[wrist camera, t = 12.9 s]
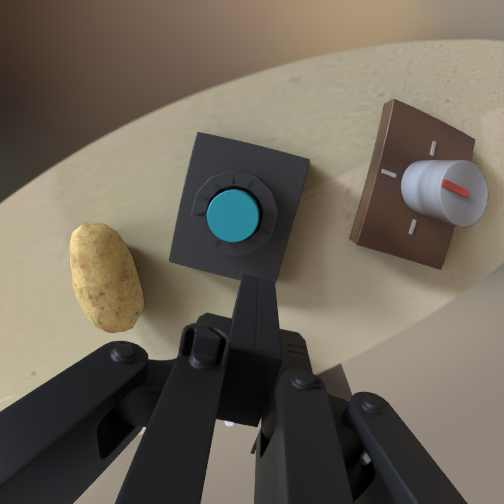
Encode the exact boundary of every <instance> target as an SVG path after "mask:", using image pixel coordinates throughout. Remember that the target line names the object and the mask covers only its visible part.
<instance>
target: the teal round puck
mask: <svg viewBox="0 0 504 504" xmlns="http://www.w3.org/2000/svg"><path fill="white" fill-rule="evenodd" d="M207 221H208V225H209V227H210V229H211V231H212V232H213V233H214V234H215V235H216V236H217V237H218V238H220V239H222V240H224V241H228V242H239V241H242V240H244V239H246V238H248V237H249V236H250V235H252V233H253V232H254V231H255V229H256V227H257V225H258V221H259V209H258V205H257V203H256V201H255V200H254V198H253V197H252V196H251V195H249V194H248V193H246V192H244V191H241V190H235V189H234V190H228V191H225V192H223V193H221V194H219V195H218V196H216V197H215V198H214V199H213V200H212V202H211V203H210V205H209V207H208V211H207Z"/></svg>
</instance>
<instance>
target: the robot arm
mask: <svg viewBox="0 0 504 504" xmlns="http://www.w3.org/2000/svg"><path fill="white" fill-rule="evenodd" d="M216 419H219V420H224V421H228V422H233V423H238V424H243V425H248V426H254V427H258V424H259V421H260V419H261V429H260V431H259V434H258V436H257V438H256V441H255V443H254V445H253V448H252V451H251V453H252V454H254V453H255V450H256V469H255V493H254V504H467V502H466V501H465V500H464V498H463V497H462V496H461V494H460V493H459V492H458V491H457V490H456V488H455V487H454V485H453V484H452V483H451V482H450V480H449V479H448V478H447V477H446V475H445V474H444V473H443V472H442V470H441V469H440V468H439V466H438V465H437V464H436V462H435V461H434V460H433V459H432V457H431V456H430V455H429V454H428V452H427V451H426V450H425V448H424V447H423V446H422V445H421V443H420V442H419V441H418V440H417V438H416V437H415V436H414V435H413V433H412V432H411V431H410V429H409V428H408V427H407V426H406V425H405V423H404V422H403V421H402V420H401V418H400V417H399V416H398V414H397V413H396V412H395V411H394V409H393V408H392V407H391V406H390V404H389V403H388V402H387V401H386V400H384V399H383V398H382V397H380V396H378V395H376V394H373V393H370V392H358V393H355V394H354V395H353V396H352V397H351V399H350V401H346V400H343V399H340V398H337V397H334V396H332V395H330V394H328V393H327V391H326V387H325V385H324V383H323V381H322V380H321V379H320V378H319V377H318V376H316V375H314V374H313V372H312V368H311V363H310V359H309V356H308V350H307V346H306V342H305V340H304V339H303V337H302V336H301V335H300V334H299V333H297V332H292V331H288V330H283V329H280V328H279V318H278V308H277V298H276V289H275V281H271V280H267V279H263V278H259V277H255V276H251V275H247V274H243V275H242V279H241V283H240V287H239V291H238V295H237V299H236V303H235V307H234V311H233V315H232V319H231V318H227V317H223V316H219V315H215V314H211V313H205V314H203V315H202V316H200V317H199V318H198V320H197V323H196V324H190V325H187V326H186V327H185V328H184V329H183V330H182V335H181V341H180V347H179V353H178V356H177V358H175V359H172V360H150V359H148V354H147V352H146V351H145V350H144V349H143V348H142V347H140V346H139V345H137V344H134V343H131V342H127V341H113V342H110V343H107V344H105V345H103V346H102V347H100V348H99V349H97V350H95V351H94V352H92V353H91V354H89V355H88V356H86V357H85V358H83V359H81V360H80V361H78V362H77V363H75V364H74V365H72V366H71V367H69V368H67V369H66V370H64V371H63V372H61V373H60V374H58V375H57V376H55V377H53V378H52V379H50V380H49V381H47V382H46V383H44V384H43V385H41V386H39V387H38V388H36V389H35V390H33V391H32V392H30V393H29V394H27V395H25V396H24V397H22V398H21V399H19V400H18V401H16V402H15V403H13V404H11V405H10V406H8V407H7V408H5V409H4V410H2V411H1V412H0V504H73V503H74V502H75V501H76V500H77V499H78V498H79V497H80V496H81V495H82V494H83V493H84V491H86V489H87V488H88V487H89V486H90V485H91V484H92V483H93V482H94V481H95V480H96V479H97V478H98V477H99V476H100V475H101V474H102V473H103V471H105V469H106V468H107V467H108V466H109V465H110V464H111V463H112V462H113V461H114V460H115V459H116V458H117V456H118V455H119V454H120V453H121V452H122V451H123V450H124V449H125V448H126V447H127V446H128V445H129V443H130V442H131V441H132V440H133V439H134V438H135V437H136V436H137V435H138V434H139V432H140V431H141V430H142V428H143V427H146V430H145V432H144V434H143V437H142V439H141V441H140V444H139V446H138V449H137V451H136V453H135V456H134V458H133V460H132V463H131V465H130V468H129V470H128V473H127V475H126V477H125V480H124V482H123V485H122V487H121V490H120V492H119V494H118V497H117V500H116V502H115V504H200V503H201V497H202V492H203V486H204V480H205V475H206V470H207V464H208V459H209V453H210V448H211V442H212V437H213V432H214V426H215V421H216ZM366 453H367V455H368V457H369V458H370V460H371V461H370V462H369V463H366V462H365V460H364V459H363V457H364V455H365V454H366Z"/></svg>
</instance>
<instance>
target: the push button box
mask: <svg viewBox="0 0 504 504" xmlns="http://www.w3.org/2000/svg"><path fill="white" fill-rule="evenodd" d="M309 162H310V160H309V159H306V158H303V157H299V156H296V155H292V154H289V153H285V152H281V151H277V150H274V149H270V148H266V147H262V146H258V145H254V144H250V143H246V142H241V141H237V140H233V139H228V138H224V137H219V136H215V135H210V134H205V133H200V132H197V134H196V138H195V142H194V146H193V150H192V154H191V158H190V162H189V166H188V171H187V175H186V179H185V184H184V188H183V192H182V197H181V202H180V206H179V211H178V216H177V221H176V226H175V231H174V236H173V241H172V246H171V251H170V257H169V262H172V263H175V264H179V265H183V266H187V267H190V268H194V269H198V270H202V271H205V272H209V273H213V274H217V275H221V276H225V277H229V278H232V279H236V280H240V281H241V279H242V275H243V274H247V275H251V276H255V277H259V278H263V279H267V280H271V281H275V283H276V280H277V276H278V273H279V270H280V266H281V263H282V259H283V256H284V252H285V249H286V245H287V242H288V239H289V235H290V231H291V228H292V224H293V221H294V217H295V214H296V210H297V207H298V203H299V199H300V196H301V192H302V188H303V185H304V181H305V177H306V174H307V170H308V166H309ZM234 189H235V190H241V191H244V192H246V193H248V194H249V195H251V196H252V197H253V198H254V200H255V201H256V203H257V205H258V209H259V221H258V225H257V227H256V229H255V231H254V232H253V233H252V235H250V236H249V237H248V238H246V239H244V240H242V241H239V242H228V241H224V240H222V239H220V238H218V237H217V236H216V235H215V234H214V233H213V232H212V231H211V229H210V227H209V225H208V221H207V211H208V207H209V205H210V203H211V202H212V200H213V199H214V198H215V197H216V196H218V195H219V194H221V193H223V192H225V191H228V190H234Z"/></svg>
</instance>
